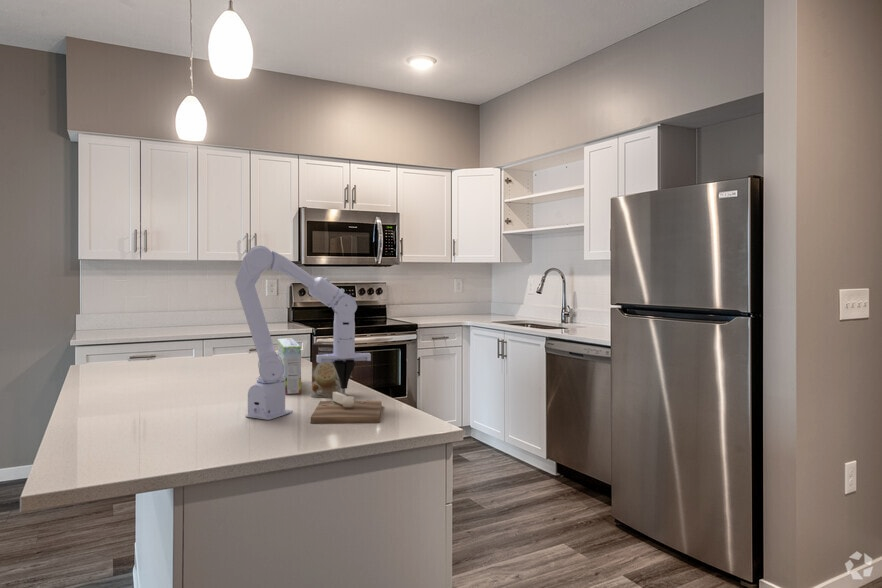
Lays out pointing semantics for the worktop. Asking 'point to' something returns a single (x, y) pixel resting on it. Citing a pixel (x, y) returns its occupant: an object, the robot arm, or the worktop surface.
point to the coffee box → (324, 372)
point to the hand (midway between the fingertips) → (343, 387)
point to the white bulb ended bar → (343, 399)
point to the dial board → (347, 412)
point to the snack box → (291, 364)
